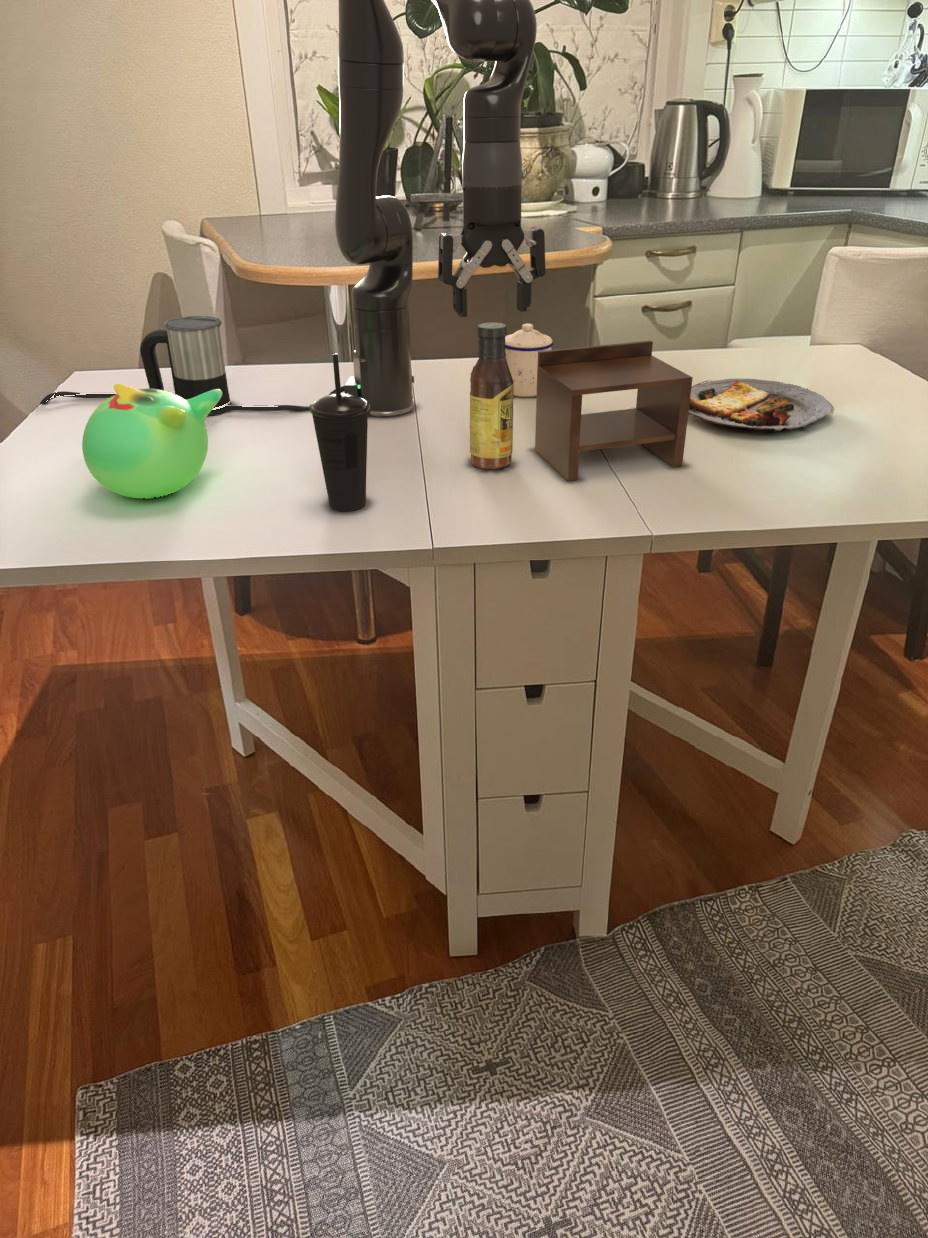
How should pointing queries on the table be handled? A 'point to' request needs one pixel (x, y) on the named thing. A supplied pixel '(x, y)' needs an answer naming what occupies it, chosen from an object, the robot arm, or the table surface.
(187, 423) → the toy bird
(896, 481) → the table surface
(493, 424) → the sauce bottle
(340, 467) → the drinking cup
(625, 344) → the shelf
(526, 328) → the teacup with lid
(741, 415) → the food plate
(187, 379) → the milk frother
